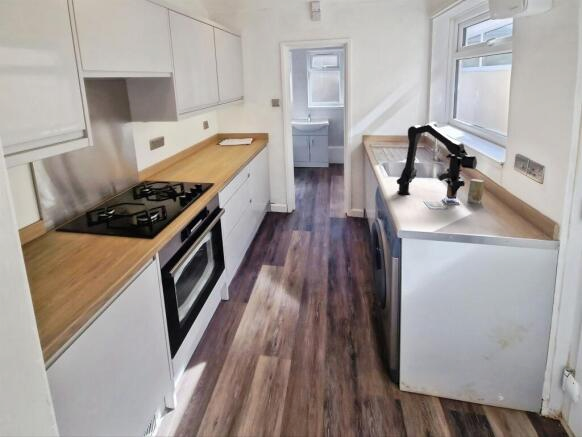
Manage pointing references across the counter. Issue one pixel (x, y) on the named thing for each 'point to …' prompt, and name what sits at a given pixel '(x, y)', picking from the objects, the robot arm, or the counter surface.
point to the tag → (435, 205)
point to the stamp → (450, 193)
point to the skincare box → (475, 190)
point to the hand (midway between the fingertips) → (451, 194)
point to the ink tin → (450, 201)
